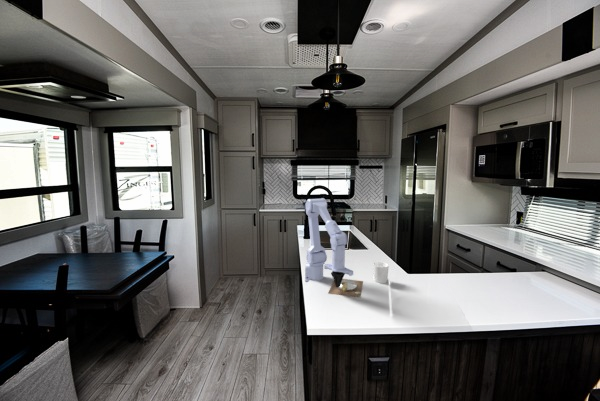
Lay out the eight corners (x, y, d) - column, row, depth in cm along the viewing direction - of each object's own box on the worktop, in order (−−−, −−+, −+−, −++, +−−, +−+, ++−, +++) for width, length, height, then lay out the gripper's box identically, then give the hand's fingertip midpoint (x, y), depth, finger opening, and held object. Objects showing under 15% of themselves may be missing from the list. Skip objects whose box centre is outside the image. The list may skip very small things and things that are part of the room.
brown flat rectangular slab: (328, 295, 130) (328, 292, 130) (334, 280, 149) (334, 276, 148) (360, 300, 126) (360, 296, 126) (363, 283, 144) (363, 280, 144)
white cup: (370, 284, 144) (371, 265, 142) (374, 278, 150) (374, 261, 149) (386, 287, 140) (387, 268, 139) (389, 281, 147) (389, 263, 146)
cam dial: (338, 281, 143) (338, 271, 143) (357, 283, 140) (357, 273, 140) (333, 293, 129) (333, 282, 129) (354, 296, 127) (355, 285, 126)
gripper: (320, 257, 130) (320, 285, 132) (348, 264, 121) (347, 293, 123) (328, 254, 136) (328, 280, 137) (355, 260, 127) (354, 288, 128)
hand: (338, 286), depth 130 cm, fingers closed
